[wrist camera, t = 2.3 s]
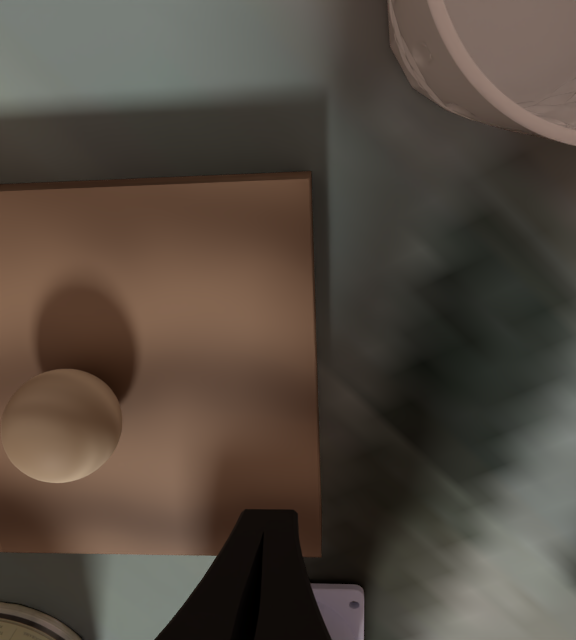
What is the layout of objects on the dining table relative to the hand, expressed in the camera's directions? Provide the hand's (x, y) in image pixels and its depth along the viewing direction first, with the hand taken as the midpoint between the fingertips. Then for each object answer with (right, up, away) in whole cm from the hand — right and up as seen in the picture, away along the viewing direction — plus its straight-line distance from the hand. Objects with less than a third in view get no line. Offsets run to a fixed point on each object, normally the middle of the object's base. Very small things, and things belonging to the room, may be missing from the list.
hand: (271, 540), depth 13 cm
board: (-9, +3, +10) cm, 14 cm away
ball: (-8, +2, +6) cm, 10 cm away
